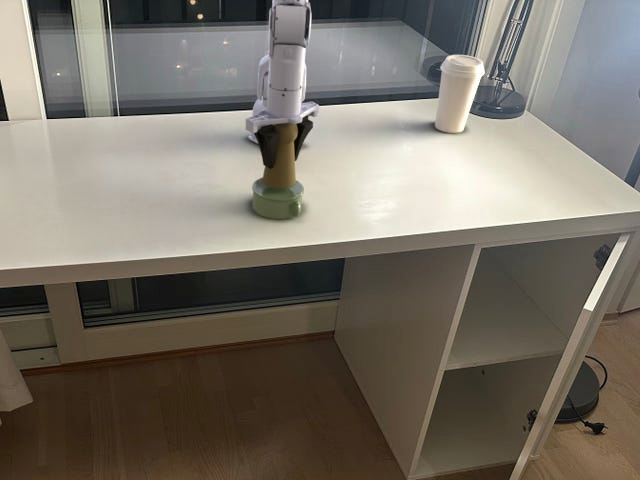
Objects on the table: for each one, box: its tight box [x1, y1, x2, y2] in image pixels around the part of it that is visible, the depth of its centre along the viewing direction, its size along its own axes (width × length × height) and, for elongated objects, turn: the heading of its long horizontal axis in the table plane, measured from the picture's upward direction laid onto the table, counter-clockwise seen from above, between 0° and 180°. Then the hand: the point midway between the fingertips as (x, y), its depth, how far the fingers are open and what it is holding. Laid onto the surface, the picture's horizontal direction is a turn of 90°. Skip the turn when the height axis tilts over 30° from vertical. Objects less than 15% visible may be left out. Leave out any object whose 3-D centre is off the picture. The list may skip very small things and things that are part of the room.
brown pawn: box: [262, 123, 298, 188], centre depth 123 cm, size 6×6×11 cm
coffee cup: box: [434, 54, 485, 134], centre depth 158 cm, size 10×10×15 cm
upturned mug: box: [251, 176, 305, 220], centre depth 129 cm, size 11×9×4 cm
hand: (279, 162), depth 125 cm, fingers closed on brown pawn, 5 cm apart
